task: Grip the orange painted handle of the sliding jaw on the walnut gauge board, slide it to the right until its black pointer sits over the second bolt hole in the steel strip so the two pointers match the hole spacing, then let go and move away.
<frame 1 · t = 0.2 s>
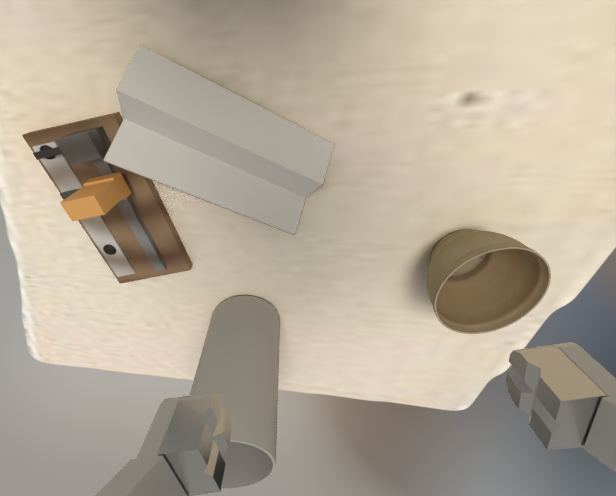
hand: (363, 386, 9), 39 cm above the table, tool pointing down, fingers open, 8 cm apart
planter bowl: (457, 252, 55), on the table
gauge board: (121, 206, 47), on the table
sliding jaw: (80, 199, 40), point 6 cm above the table, slide at 2.0 cm
z bracket: (229, 146, 43), on the table, touching gauge board
cylinder vase: (246, 318, 60), on the table
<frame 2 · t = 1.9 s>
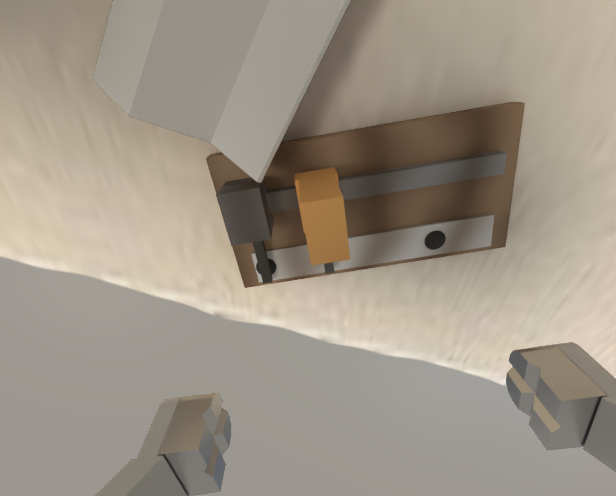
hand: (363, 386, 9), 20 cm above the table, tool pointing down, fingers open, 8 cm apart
gauge board: (364, 200, 28), on the table
sliding jaw: (326, 242, 23), point 6 cm above the table, slide at 2.0 cm
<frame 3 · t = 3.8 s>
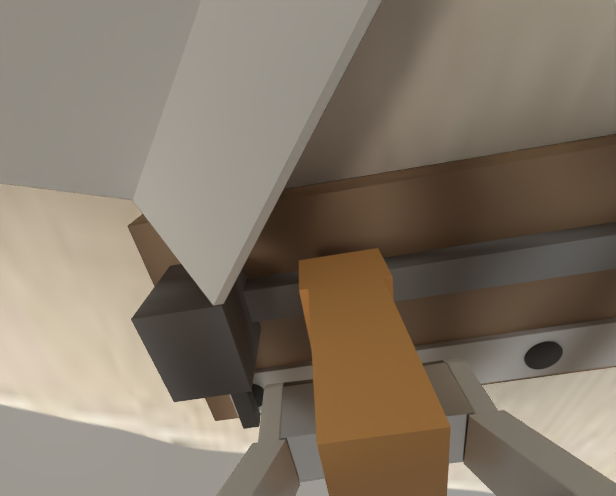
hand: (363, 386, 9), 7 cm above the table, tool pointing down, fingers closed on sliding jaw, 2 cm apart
gauge board: (419, 285, 16), on the table
sliding jaw: (363, 409, 11), point 6 cm above the table, slide at 2.0 cm, touching gripper
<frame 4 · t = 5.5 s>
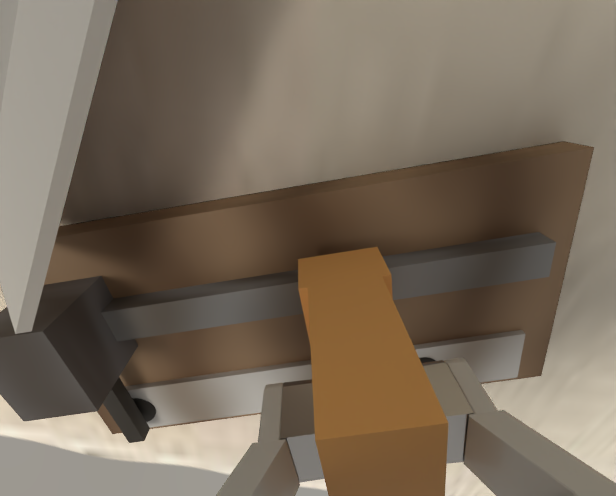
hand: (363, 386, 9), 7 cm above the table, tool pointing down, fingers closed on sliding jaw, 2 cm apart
gauge board: (301, 302, 16), on the table
sliding jaw: (363, 407, 11), point 6 cm above the table, slide at 8.0 cm, touching gripper
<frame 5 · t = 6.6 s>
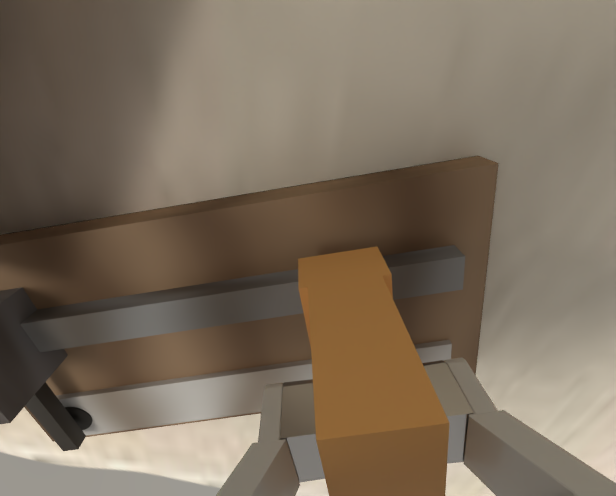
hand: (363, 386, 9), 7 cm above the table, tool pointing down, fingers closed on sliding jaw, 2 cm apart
gauge board: (234, 311, 17), on the table
sliding jaw: (363, 407, 11), point 6 cm above the table, slide at 11.5 cm, touching gripper
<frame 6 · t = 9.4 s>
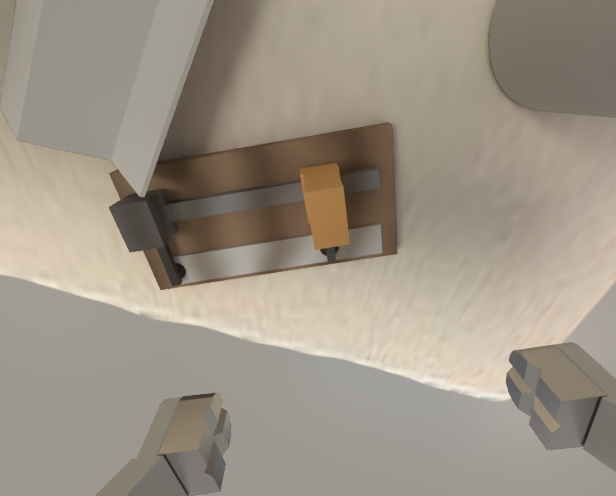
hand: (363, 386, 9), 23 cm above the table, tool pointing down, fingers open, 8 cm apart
gauge board: (265, 210, 30), on the table
sliding jaw: (328, 231, 25), point 6 cm above the table, slide at 11.6 cm
cylinder vase: (565, 22, 25), on the table
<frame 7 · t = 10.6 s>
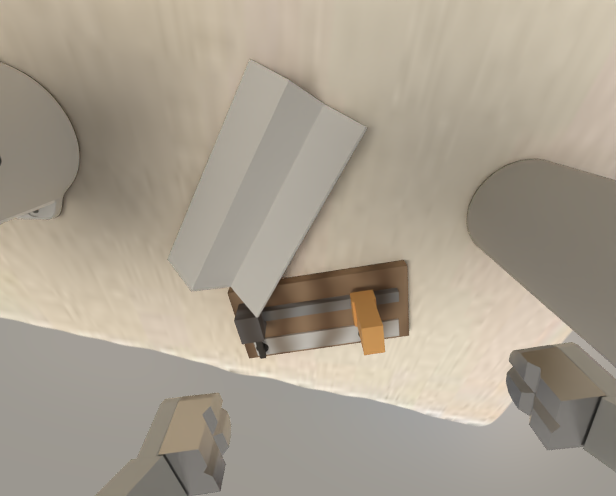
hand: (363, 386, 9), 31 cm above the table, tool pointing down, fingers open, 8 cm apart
gauge board: (321, 308, 46), on the table
sliding jaw: (368, 334, 41), point 6 cm above the table, slide at 11.6 cm
z bracket: (256, 196, 38), on the table, touching gauge board
cylinder vase: (513, 207, 40), on the table
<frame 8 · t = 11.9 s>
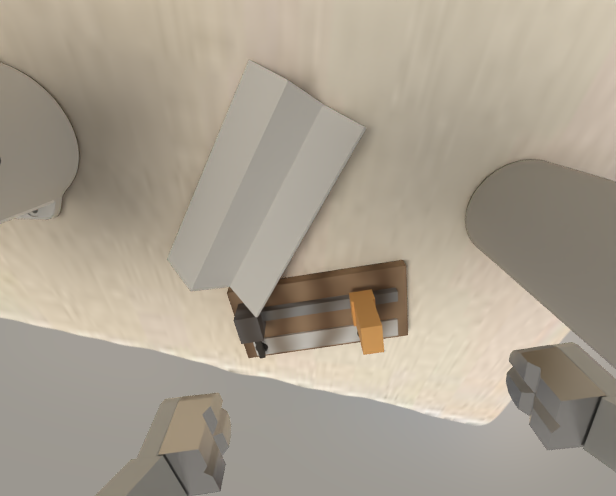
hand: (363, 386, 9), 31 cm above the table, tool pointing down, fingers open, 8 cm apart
gauge board: (321, 308, 46), on the table
sliding jaw: (367, 334, 41), point 6 cm above the table, slide at 11.6 cm
z bracket: (256, 196, 38), on the table, touching gauge board
cylinder vase: (511, 208, 40), on the table
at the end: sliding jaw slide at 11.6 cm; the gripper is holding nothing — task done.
